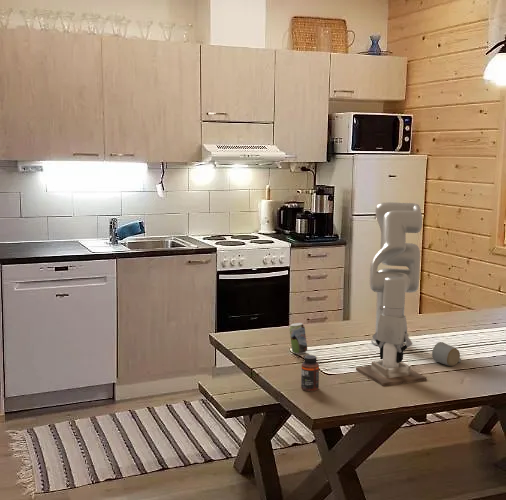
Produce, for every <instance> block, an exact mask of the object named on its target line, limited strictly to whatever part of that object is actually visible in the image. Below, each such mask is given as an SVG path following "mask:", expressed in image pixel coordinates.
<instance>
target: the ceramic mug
mask: <svg viewBox="0 0 506 500" xmlns="http://www.w3.org/2000/svg"><path fill="white" fill-rule="evenodd" d="M460 353H461V352H460V350H458V348H457V347H455V346H452V345H450V344H447V343H445V342H444V341H440V342H437V343H436V344H435V345H434V346H433V348H432V351H431V355H432V356H431V357H432V360H433V361H435V362H437V363H440V364H442V365H445V366H449V367H454V366H456V365H457V364H458V363H461V362H462V358H461V354H460Z"/></svg>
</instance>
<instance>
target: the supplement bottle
mask: <svg viewBox="0 0 506 500" xmlns="http://www.w3.org/2000/svg"><path fill="white" fill-rule="evenodd" d="M303 360H304V361H303V362H302V363H301V368H300V369H301V370H300V371H301V372H300V373H301V375H300V377H301V379H300V380H301V381H300V382H301V383H300V384H301V385H300V388H301V390H303V391H304V392H305V391H306V392H315V391H317V390H319V387H320V386H319V385H320V384H319V382H320V364H319V362H317V356H316V355H314V354H313V355H312V354H307V355H305V356H304V359H303Z"/></svg>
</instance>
